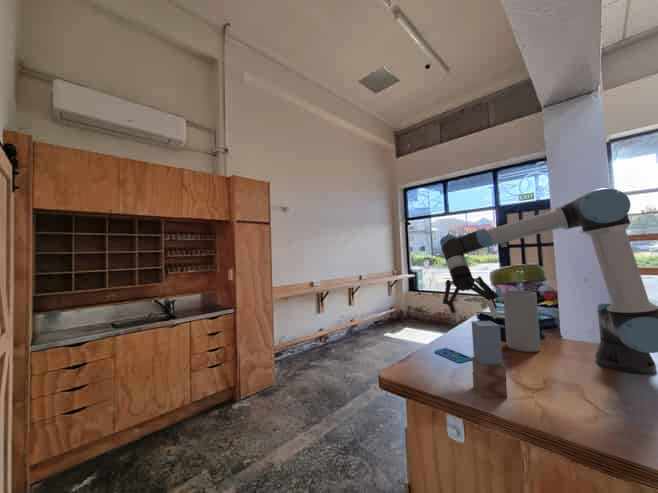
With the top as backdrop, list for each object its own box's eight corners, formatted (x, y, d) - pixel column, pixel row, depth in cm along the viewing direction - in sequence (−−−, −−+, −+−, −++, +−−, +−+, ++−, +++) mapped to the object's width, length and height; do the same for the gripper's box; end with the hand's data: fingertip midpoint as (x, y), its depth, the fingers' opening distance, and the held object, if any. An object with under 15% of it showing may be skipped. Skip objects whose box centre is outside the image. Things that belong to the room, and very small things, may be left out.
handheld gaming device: (446, 347, 126) (474, 357, 112) (446, 349, 126) (474, 360, 112) (432, 350, 123) (458, 361, 109) (432, 352, 123) (459, 364, 109)
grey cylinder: (500, 343, 129) (497, 291, 130) (527, 342, 128) (523, 290, 129) (518, 353, 116) (514, 295, 117) (548, 352, 116) (543, 293, 117)
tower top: (495, 372, 90) (494, 356, 90) (506, 382, 83) (505, 365, 83) (473, 372, 91) (472, 357, 91) (482, 381, 84) (481, 365, 84)
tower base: (495, 387, 90) (494, 371, 90) (507, 398, 83) (506, 381, 83) (473, 387, 90) (472, 372, 91) (483, 398, 83) (482, 382, 84)
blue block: (492, 357, 90) (490, 320, 90) (502, 364, 84) (499, 325, 84) (473, 357, 90) (471, 321, 91) (482, 364, 84) (479, 326, 85)
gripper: (486, 269, 115) (507, 318, 103) (426, 276, 116) (440, 325, 105) (493, 261, 108) (516, 312, 97) (430, 267, 110) (445, 319, 98)
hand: (477, 319), depth 101 cm, fingers open, 13 cm apart
